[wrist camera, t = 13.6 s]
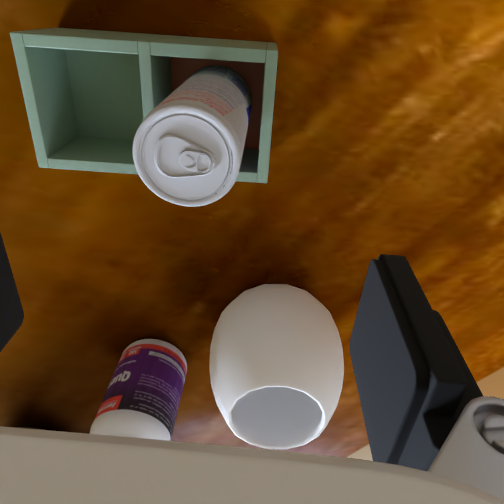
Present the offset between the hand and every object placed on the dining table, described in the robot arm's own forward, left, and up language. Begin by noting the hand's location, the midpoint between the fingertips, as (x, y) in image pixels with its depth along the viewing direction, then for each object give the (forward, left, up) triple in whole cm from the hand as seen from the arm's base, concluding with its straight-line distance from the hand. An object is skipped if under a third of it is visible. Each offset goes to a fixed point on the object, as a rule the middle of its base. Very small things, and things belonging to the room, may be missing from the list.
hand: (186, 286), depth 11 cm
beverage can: (+1, -2, -27) cm, 27 cm away
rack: (+1, -6, -28) cm, 28 cm away
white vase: (+24, +5, -28) cm, 37 cm away
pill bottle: (+32, -9, -28) cm, 43 cm away
